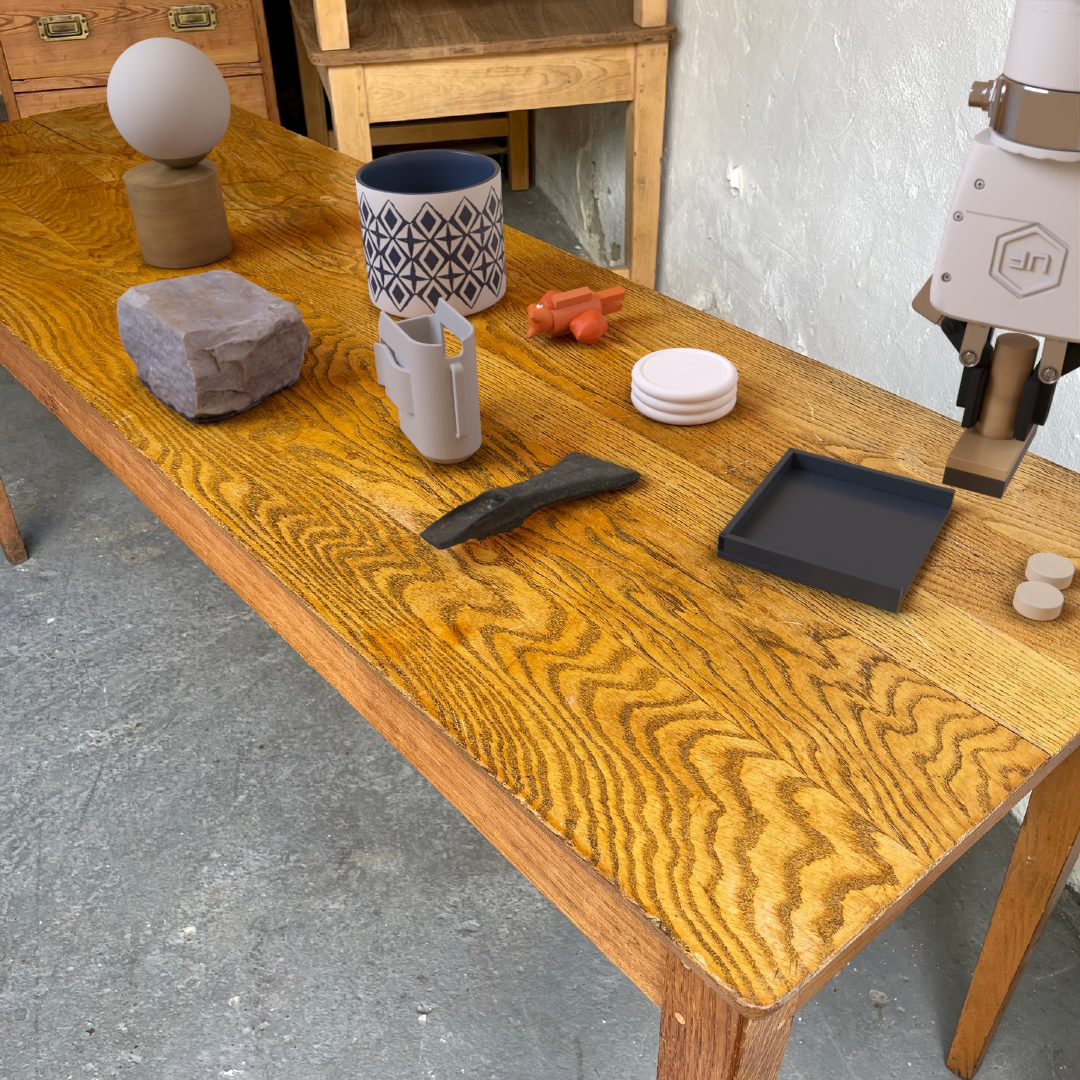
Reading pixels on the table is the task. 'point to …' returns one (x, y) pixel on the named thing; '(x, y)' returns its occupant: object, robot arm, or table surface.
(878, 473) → the tray
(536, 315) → the orange toy bird
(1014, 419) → the brush
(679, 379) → the coaster
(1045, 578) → the disc
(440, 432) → the cable organizer
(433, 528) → the tool
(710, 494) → the table surface
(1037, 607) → the disc
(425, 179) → the planter
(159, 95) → the lamp
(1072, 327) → the robot arm
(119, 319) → the stone block
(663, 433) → the table surface
